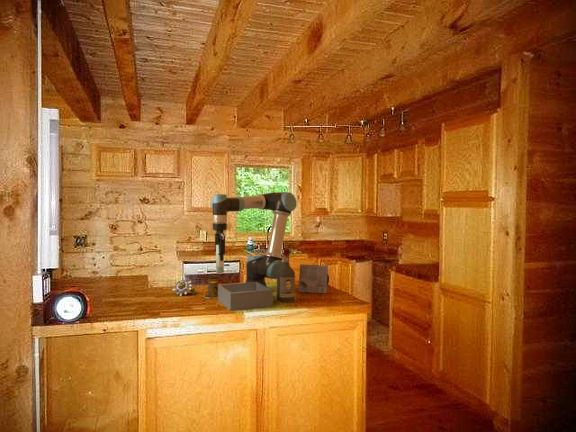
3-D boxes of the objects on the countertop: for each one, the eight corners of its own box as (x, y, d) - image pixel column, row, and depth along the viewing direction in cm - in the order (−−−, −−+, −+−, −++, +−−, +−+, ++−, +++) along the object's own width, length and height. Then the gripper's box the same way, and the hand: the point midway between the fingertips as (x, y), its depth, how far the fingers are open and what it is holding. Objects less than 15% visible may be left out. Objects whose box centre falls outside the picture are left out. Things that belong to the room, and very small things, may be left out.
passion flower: (181, 305, 237) (168, 289, 234) (184, 297, 247) (173, 282, 245) (196, 295, 236) (184, 279, 233) (199, 287, 246) (187, 272, 244)
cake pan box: (328, 292, 253) (329, 264, 253) (328, 293, 248) (329, 265, 248) (299, 290, 255) (299, 263, 255) (298, 292, 250) (298, 264, 250)
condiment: (220, 297, 236) (220, 277, 235) (206, 298, 231) (207, 278, 231) (215, 294, 242) (215, 275, 241) (202, 296, 237) (202, 276, 237)
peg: (215, 272, 214) (215, 244, 214) (222, 271, 216) (222, 244, 215) (217, 273, 211) (217, 245, 210) (224, 272, 212) (224, 245, 212)
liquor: (275, 299, 231) (276, 248, 231) (290, 298, 235) (290, 248, 234) (280, 303, 223) (281, 250, 222) (295, 301, 226) (296, 249, 225)
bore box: (217, 300, 227) (218, 284, 227) (256, 296, 237) (257, 281, 237) (230, 310, 205) (230, 293, 205) (272, 306, 216) (273, 289, 215)
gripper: (209, 222, 218) (209, 264, 219) (217, 223, 203) (217, 269, 204) (222, 221, 221) (222, 263, 222) (231, 223, 206) (231, 268, 207)
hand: (220, 265), depth 213 cm, fingers closed on peg, 4 cm apart
